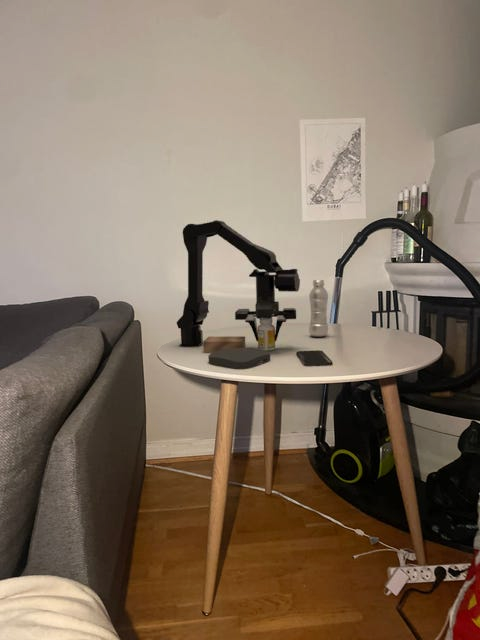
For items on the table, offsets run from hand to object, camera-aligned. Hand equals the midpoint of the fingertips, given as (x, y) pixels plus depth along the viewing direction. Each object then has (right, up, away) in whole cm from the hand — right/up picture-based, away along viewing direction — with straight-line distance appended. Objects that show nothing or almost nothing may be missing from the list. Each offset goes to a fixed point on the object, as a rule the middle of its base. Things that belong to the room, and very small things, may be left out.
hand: (266, 341), depth 135 cm
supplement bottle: (0, -3, 0) cm, 3 cm away
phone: (+12, -5, -14) cm, 19 cm away
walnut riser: (-13, -3, +1) cm, 13 cm away
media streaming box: (-8, -6, -14) cm, 17 cm away
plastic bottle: (+20, 0, +18) cm, 26 cm away
